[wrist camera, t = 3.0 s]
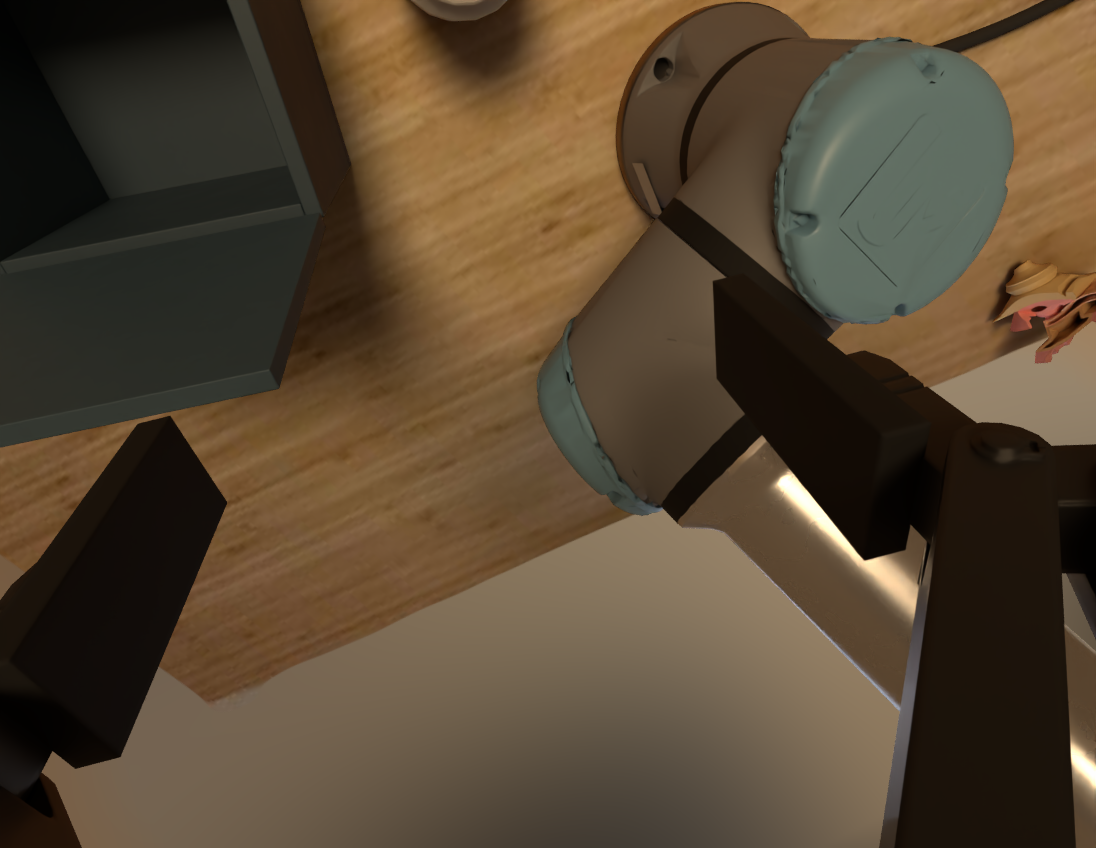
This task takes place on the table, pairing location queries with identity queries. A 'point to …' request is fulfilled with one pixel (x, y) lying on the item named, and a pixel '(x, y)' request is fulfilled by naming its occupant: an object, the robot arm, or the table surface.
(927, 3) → the table surface
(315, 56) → the bin
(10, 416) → the bin lid
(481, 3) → the can
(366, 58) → the table surface
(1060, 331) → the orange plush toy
